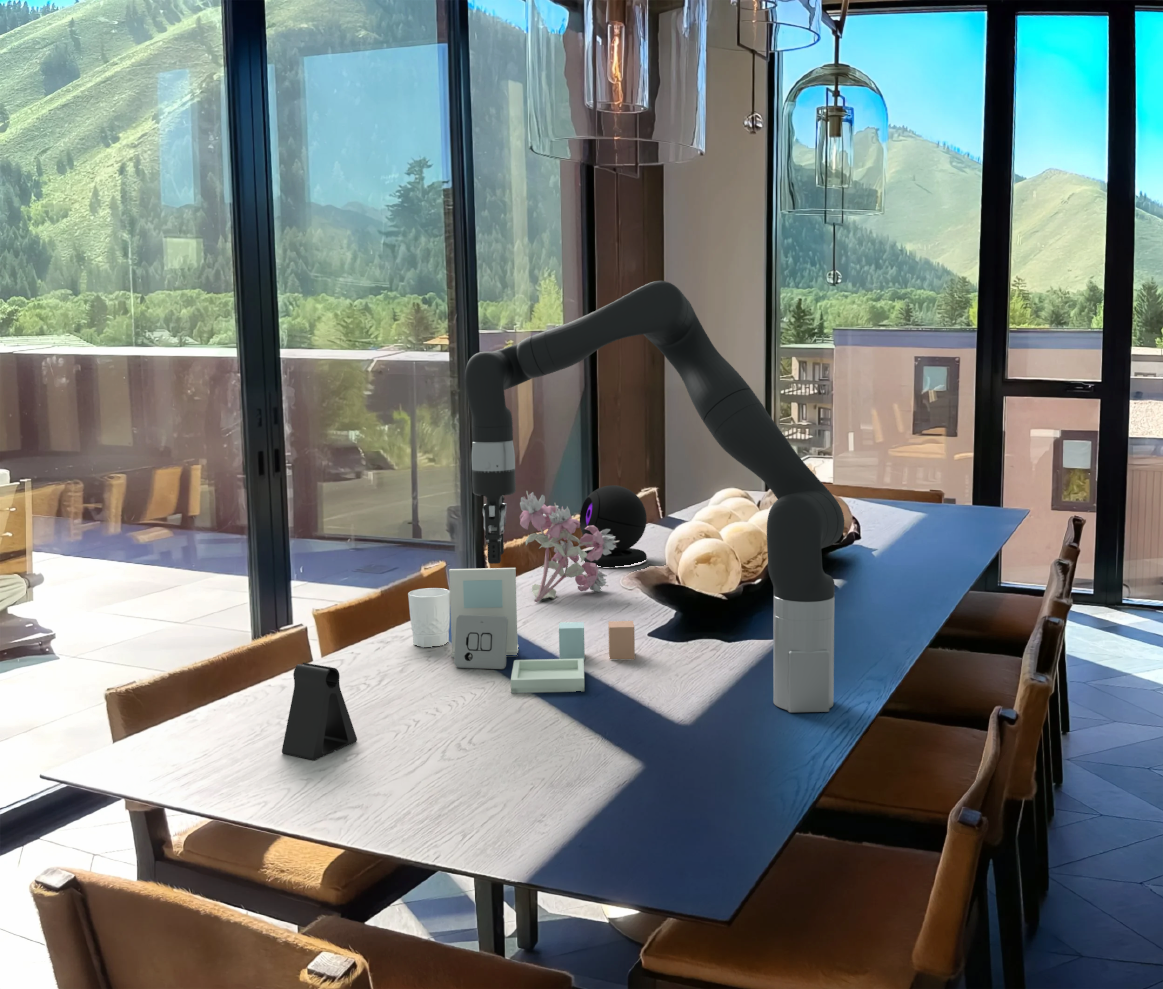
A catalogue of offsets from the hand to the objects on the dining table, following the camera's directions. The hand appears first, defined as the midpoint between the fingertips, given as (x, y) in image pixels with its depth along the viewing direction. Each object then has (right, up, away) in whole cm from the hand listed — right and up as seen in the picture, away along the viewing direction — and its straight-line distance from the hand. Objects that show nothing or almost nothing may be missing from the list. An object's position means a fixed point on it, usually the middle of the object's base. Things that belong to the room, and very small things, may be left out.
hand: (496, 558), depth 203 cm
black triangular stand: (-22, -25, -38) cm, 51 cm away
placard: (-3, -18, +9) cm, 21 cm away
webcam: (+23, -6, +97) cm, 100 cm away
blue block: (+13, -18, +6) cm, 24 cm away
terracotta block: (+22, -18, +7) cm, 29 cm away
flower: (+13, -12, +59) cm, 62 cm away
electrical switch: (-3, -19, +2) cm, 20 cm away
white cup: (-14, -17, +18) cm, 29 cm away
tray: (+9, -20, -8) cm, 24 cm away
